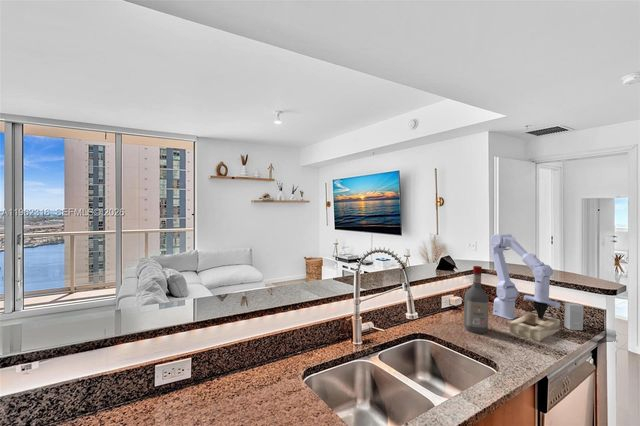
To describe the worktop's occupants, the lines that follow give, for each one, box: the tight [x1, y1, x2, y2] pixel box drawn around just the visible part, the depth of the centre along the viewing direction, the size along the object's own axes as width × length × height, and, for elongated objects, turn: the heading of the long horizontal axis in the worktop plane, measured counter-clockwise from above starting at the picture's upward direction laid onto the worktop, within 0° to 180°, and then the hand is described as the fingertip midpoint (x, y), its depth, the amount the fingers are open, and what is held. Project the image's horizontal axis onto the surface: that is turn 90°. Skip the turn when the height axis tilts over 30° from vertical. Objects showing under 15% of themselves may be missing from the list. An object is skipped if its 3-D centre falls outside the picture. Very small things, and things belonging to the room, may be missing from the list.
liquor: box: [463, 265, 490, 334], centre depth 149 cm, size 9×9×30 cm
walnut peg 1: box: [524, 312, 536, 326], centre depth 144 cm, size 4×4×5 cm
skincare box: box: [563, 302, 584, 331], centre depth 152 cm, size 6×4×12 cm
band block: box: [509, 312, 561, 343], centre depth 148 cm, size 12×24×5 cm, turn 126°
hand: (540, 318), depth 151 cm, fingers closed, pressing on walnut peg 2
